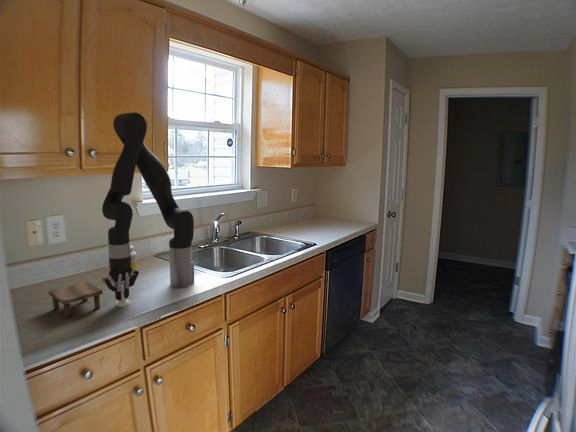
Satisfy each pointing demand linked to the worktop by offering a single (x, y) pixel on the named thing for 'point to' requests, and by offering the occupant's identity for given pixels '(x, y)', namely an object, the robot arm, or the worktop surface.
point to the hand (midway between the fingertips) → (122, 298)
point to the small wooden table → (75, 296)
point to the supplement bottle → (133, 259)
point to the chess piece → (122, 298)
